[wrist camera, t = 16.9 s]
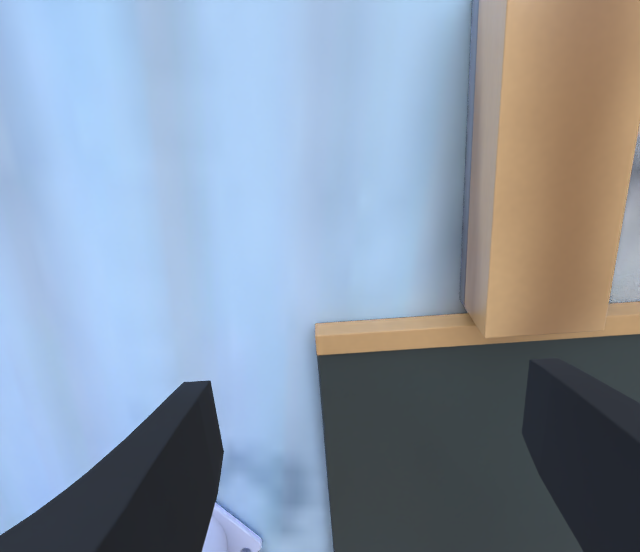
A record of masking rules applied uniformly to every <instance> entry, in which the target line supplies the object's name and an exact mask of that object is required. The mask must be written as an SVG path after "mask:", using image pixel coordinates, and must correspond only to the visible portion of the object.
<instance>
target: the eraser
mask: <svg viewBox="0 0 640 552" xmlns="http://www.w3.org/2000/svg"><path fill="white" fill-rule="evenodd" d="M639 124H640V0H472V22H471V45H470V68H469V91H468V114H467V138H466V161H465V184H464V207H463V231H462V254H461V277H460V301H461V302H462V304H463V305H464V306H465V309H466V311H467V312H468V314H469V315H470V317H471V318H472V320H473V321H474V323H475V324H476V326H477V327H478V329H479V330H480V332H481V333H482V335H483V336H484V338H500V337H515V336H531V335H546V334H561V333H576V332H591V331H603V330H604V327H605V321H606V316H607V310H608V304H609V298H610V292H611V287H612V281H613V275H614V269H615V263H616V258H617V252H618V246H619V240H620V234H621V229H622V223H623V217H624V211H625V205H626V200H627V194H628V188H629V182H630V176H631V171H632V165H633V159H634V153H635V147H636V141H637V136H638V130H639Z"/></svg>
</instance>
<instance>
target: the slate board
mask: <svg viewBox="0 0 640 552" xmlns="http://www.w3.org/2000/svg"><path fill="white" fill-rule="evenodd" d="M315 341H316V352H317V360H318V371H319V383H320V395H321V407H322V419H323V430H324V442H325V454H326V466H327V477H328V489H329V501H330V513H331V525H332V536H333V548H334V552H583V550H582V548H581V547H580V545H579V543H578V541H577V540H576V538H575V536H574V535H573V533H572V531H571V529H570V528H569V526H568V524H567V523H566V521H565V519H564V518H563V516H562V514H561V512H560V511H559V509H558V507H557V506H556V504H555V502H554V500H553V499H552V497H551V495H550V493H549V492H548V490H547V488H546V486H545V485H544V483H543V481H542V479H541V477H540V476H539V474H538V471H537V469H536V467H535V464H534V462H533V460H532V458H531V455H530V453H529V450H528V448H527V445H526V443H525V440H524V438H523V435H522V425H523V416H524V406H525V397H526V388H527V379H528V369H529V360H530V359H545V358H559V359H561V360H563V361H565V362H567V363H569V364H571V365H573V366H575V367H577V368H578V369H580V370H582V371H584V372H586V373H587V374H589V375H591V376H593V377H594V378H596V379H598V380H600V381H602V382H603V383H605V384H607V385H609V386H610V387H612V388H614V389H616V390H617V391H619V392H621V393H623V394H625V395H626V396H628V397H630V398H632V399H633V400H635V401H637V402H639V403H640V301H639V302H625V303H610V304H608V310H607V316H606V321H605V327H604V330H603V331H591V332H576V333H561V334H546V335H531V336H515V337H500V338H484V336H483V335H482V333H481V332H480V330H479V329H478V327H477V326H476V324H475V323H474V321H473V320H472V318H471V317H470V315H469V314H468V313H462V314H447V315H433V316H418V317H403V318H388V319H374V320H359V321H344V322H329V323H316V324H315Z"/></svg>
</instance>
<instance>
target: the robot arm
mask: <svg viewBox="0 0 640 552" xmlns="http://www.w3.org/2000/svg"><path fill="white" fill-rule="evenodd" d="M522 435H523V438H524V440H525V443H526V445H527V448H528V450H529V453H530V455H531V458H532V460H533V462H534V464H535V467H536V469H537V471H538V474H539V476H540V477H541V479H542V481H543V483H544V485H545V486H546V488H547V490H548V492H549V493H550V495H551V497H552V499H553V500H554V502H555V504H556V506H557V507H558V509H559V511H560V512H561V514H562V516H563V518H564V519H565V521H566V523H567V524H568V526H569V528H570V529H571V531H572V533H573V535H574V536H575V538H576V540H577V541H578V543H579V545H580V547H581V548H582V550H583V552H640V403H639V402H637V401H635V400H633V399H632V398H630V397H628V396H626V395H625V394H623V393H621V392H619V391H617V390H616V389H614V388H612V387H610V386H609V385H607V384H605V383H603V382H602V381H600V380H598V379H596V378H594V377H593V376H591V375H589V374H587V373H586V372H584V371H582V370H580V369H578V368H577V367H575V366H573V365H571V364H569V363H567V362H565V361H563V360H561V359H559V358H545V359H530V360H529V369H528V379H527V388H526V397H525V406H524V416H523V425H522ZM223 453H224V451H223V446H222V440H221V435H220V430H219V424H218V419H217V414H216V408H215V403H214V397H213V392H212V387H211V381H196V382H184V383H183V384H181V385H180V386H179V387H178V388H177V389H176V390H175V391H174V392H173V393H172V394H171V395H170V396H169V397H168V398H167V399H166V400H165V401H164V402H163V403H162V404H161V405H160V406H159V407H158V408H157V409H156V410H155V411H154V412H153V413H152V414H151V415H150V416H149V417H148V418H147V419H146V420H144V421H143V422H142V423H141V424H140V425H139V426H138V427H137V428H136V429H135V430H134V431H133V432H132V433H131V434H130V435H129V436H128V437H127V438H126V439H125V440H124V441H122V442H121V443H120V444H119V445H118V446H117V447H116V448H114V449H113V450H112V451H111V452H110V453H109V454H108V455H106V456H105V457H104V458H103V459H102V460H101V461H100V462H98V463H97V464H96V465H95V466H94V467H93V468H92V469H90V470H89V471H88V472H87V473H86V474H85V475H83V476H82V477H81V478H80V479H78V480H77V481H76V482H75V483H73V484H72V485H71V486H70V487H68V488H67V489H66V490H65V491H63V492H62V493H60V494H59V495H58V496H56V497H55V498H54V499H52V500H51V501H50V502H48V503H47V504H46V505H44V506H43V507H42V508H40V509H39V510H38V511H36V512H35V513H33V514H32V515H30V516H29V517H28V518H26V519H25V520H23V521H21V522H20V523H18V524H17V525H15V526H14V527H12V528H11V529H9V530H8V531H6V532H5V533H3V534H2V535H0V552H258V551H260V550H261V547H262V539H261V538H260V537H259V536H258V535H257V534H255V533H254V532H253V531H252V530H250V529H249V528H248V527H246V526H245V525H244V524H243V523H241V522H240V521H239V520H237V519H236V518H235V517H234V516H232V515H231V514H230V513H228V512H227V511H226V510H225V509H223V508H222V507H221V506H220V505H218V504H217V503H216V498H217V494H218V487H219V481H220V475H221V467H222V460H223Z"/></svg>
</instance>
